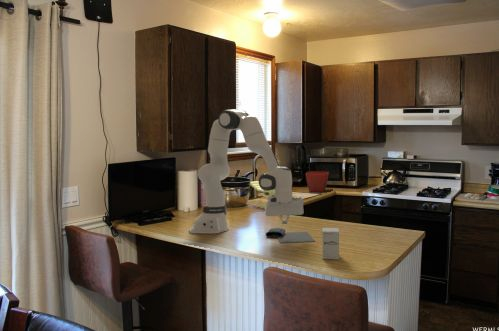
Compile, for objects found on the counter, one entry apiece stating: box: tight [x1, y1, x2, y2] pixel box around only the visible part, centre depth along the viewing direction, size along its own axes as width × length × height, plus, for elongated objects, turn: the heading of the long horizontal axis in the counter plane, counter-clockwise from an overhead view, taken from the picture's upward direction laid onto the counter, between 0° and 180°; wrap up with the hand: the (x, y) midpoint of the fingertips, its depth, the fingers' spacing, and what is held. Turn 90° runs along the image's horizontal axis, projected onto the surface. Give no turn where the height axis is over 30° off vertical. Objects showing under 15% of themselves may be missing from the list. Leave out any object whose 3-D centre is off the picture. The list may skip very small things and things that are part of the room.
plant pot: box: [305, 171, 330, 193], centre depth 388 cm, size 19×19×17 cm
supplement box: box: [321, 227, 340, 260], centre depth 194 cm, size 7×7×13 cm
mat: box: [276, 231, 316, 244], centre depth 230 cm, size 18×20×1 cm
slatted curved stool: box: [249, 180, 275, 210], centre depth 320 cm, size 30×16×18 cm, turn 31°
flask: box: [265, 227, 286, 238], centre depth 236 cm, size 9×3×11 cm
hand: (284, 223), depth 229 cm, fingers closed
